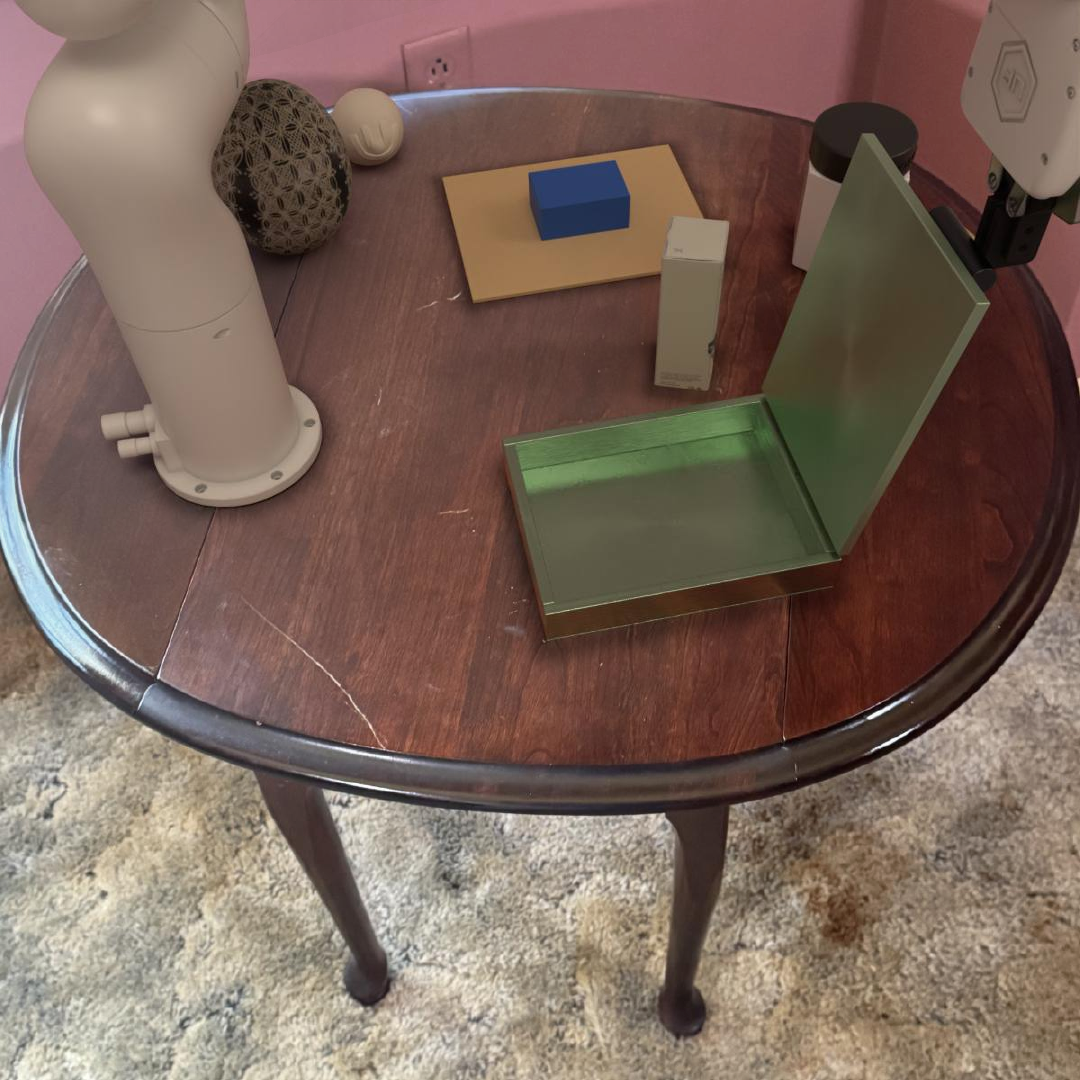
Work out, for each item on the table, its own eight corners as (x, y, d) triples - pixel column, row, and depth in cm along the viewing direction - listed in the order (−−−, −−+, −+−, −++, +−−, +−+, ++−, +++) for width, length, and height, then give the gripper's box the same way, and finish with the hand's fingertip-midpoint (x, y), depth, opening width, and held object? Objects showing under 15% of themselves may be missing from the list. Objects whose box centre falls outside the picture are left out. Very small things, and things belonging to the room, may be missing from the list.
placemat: (473, 303, 94) (472, 300, 94) (442, 180, 105) (442, 177, 104) (723, 264, 96) (724, 260, 96) (668, 147, 107) (668, 144, 107)
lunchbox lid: (977, 303, 56) (1059, 302, 57) (861, 132, 65) (934, 133, 66) (838, 556, 71) (904, 550, 72) (760, 388, 81) (821, 385, 82)
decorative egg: (273, 192, 105) (234, 38, 93) (385, 217, 102) (359, 61, 90) (207, 267, 98) (156, 112, 86) (324, 296, 95) (288, 139, 83)
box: (707, 398, 86) (724, 265, 76) (651, 391, 87) (660, 258, 77) (715, 352, 89) (731, 218, 79) (660, 346, 90) (670, 212, 80)
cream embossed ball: (351, 189, 104) (338, 125, 99) (329, 148, 109) (316, 85, 103) (418, 171, 106) (410, 106, 101) (394, 131, 110) (385, 68, 105)
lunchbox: (547, 647, 73) (545, 615, 70) (504, 472, 82) (501, 437, 79) (831, 593, 75) (842, 559, 72) (758, 428, 84) (765, 392, 81)
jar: (886, 291, 93) (921, 166, 84) (788, 282, 94) (811, 157, 85) (886, 226, 99) (919, 101, 89) (793, 218, 100) (815, 94, 90)
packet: (541, 241, 98) (540, 208, 95) (529, 204, 101) (528, 172, 99) (629, 228, 99) (630, 195, 96) (614, 191, 102) (615, 159, 100)
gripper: (967, -130, 54) (889, 193, 69) (1126, 19, 45) (997, 355, 60) (1111, -150, 55) (1003, 174, 69) (1296, -6, 46) (1128, 332, 60)
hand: (1001, 257), depth 64 cm, fingers closed
